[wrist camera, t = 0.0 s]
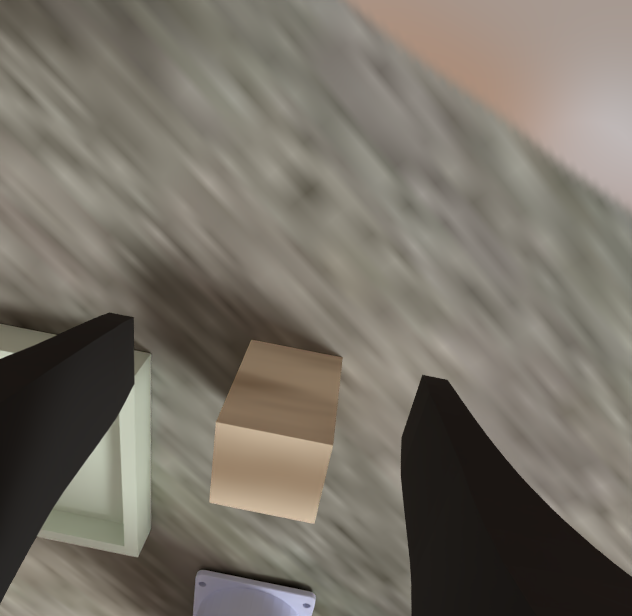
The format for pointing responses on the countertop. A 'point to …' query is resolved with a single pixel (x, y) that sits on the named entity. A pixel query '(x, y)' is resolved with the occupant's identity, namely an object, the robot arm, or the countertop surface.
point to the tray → (105, 469)
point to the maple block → (276, 432)
